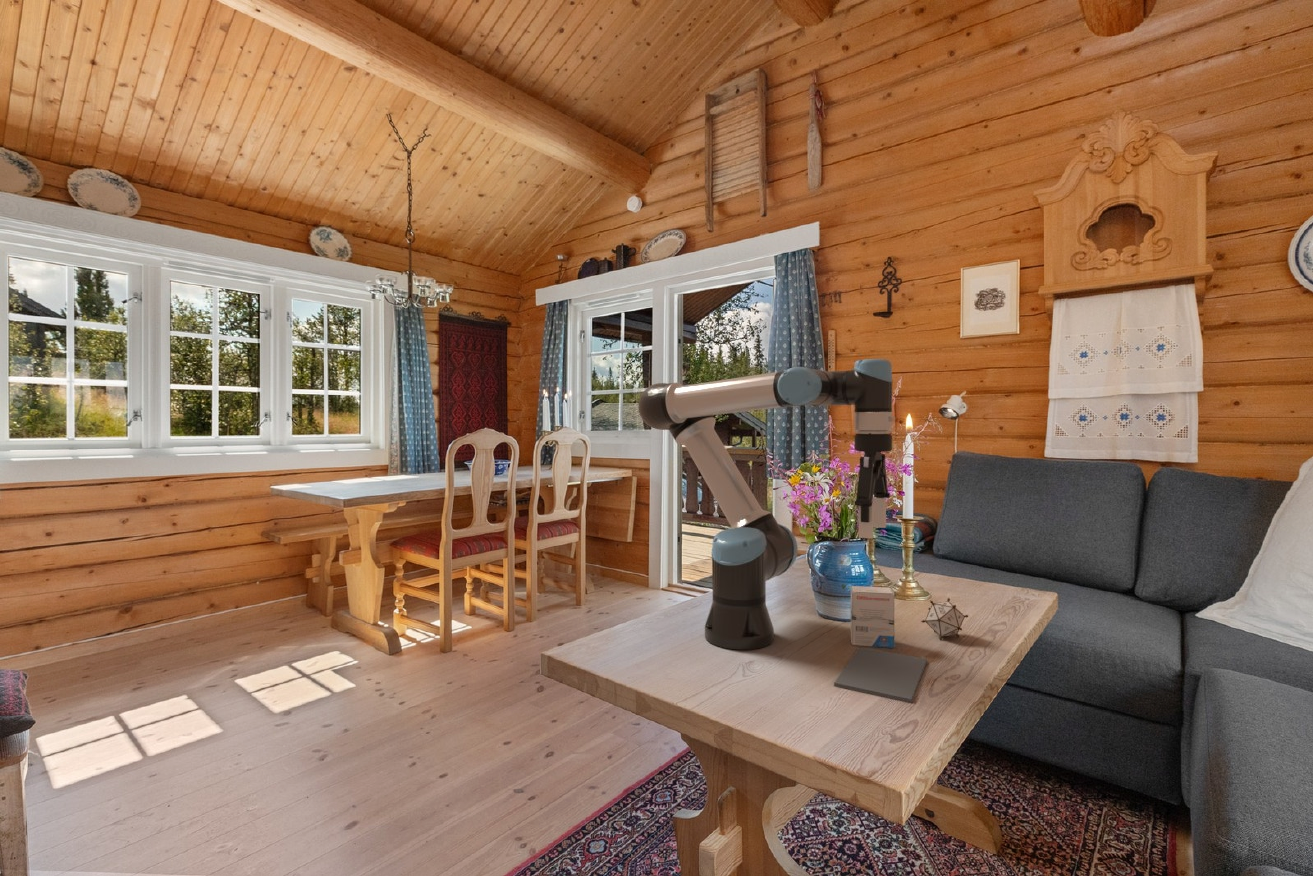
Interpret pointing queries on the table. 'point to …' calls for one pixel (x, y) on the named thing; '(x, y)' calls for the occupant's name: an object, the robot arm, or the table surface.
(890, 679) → the mat
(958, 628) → the game die
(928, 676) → the table surface
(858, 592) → the ink box
